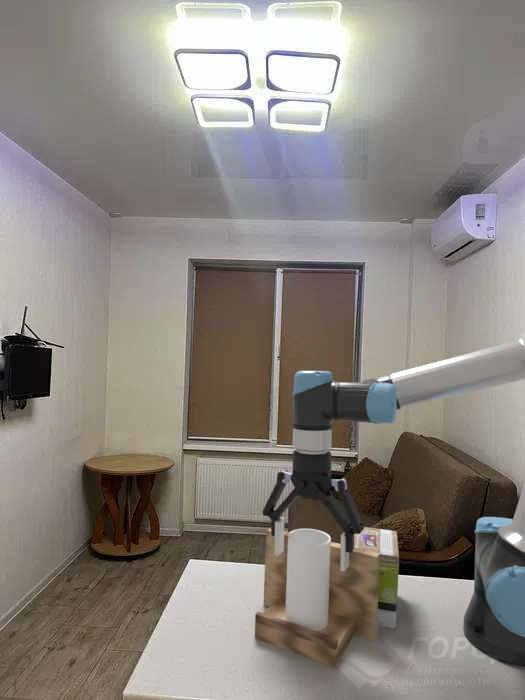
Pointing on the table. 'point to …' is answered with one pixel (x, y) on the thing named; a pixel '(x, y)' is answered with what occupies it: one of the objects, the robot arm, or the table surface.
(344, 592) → the board
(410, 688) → the table surface
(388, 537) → the tea box
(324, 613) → the cup
